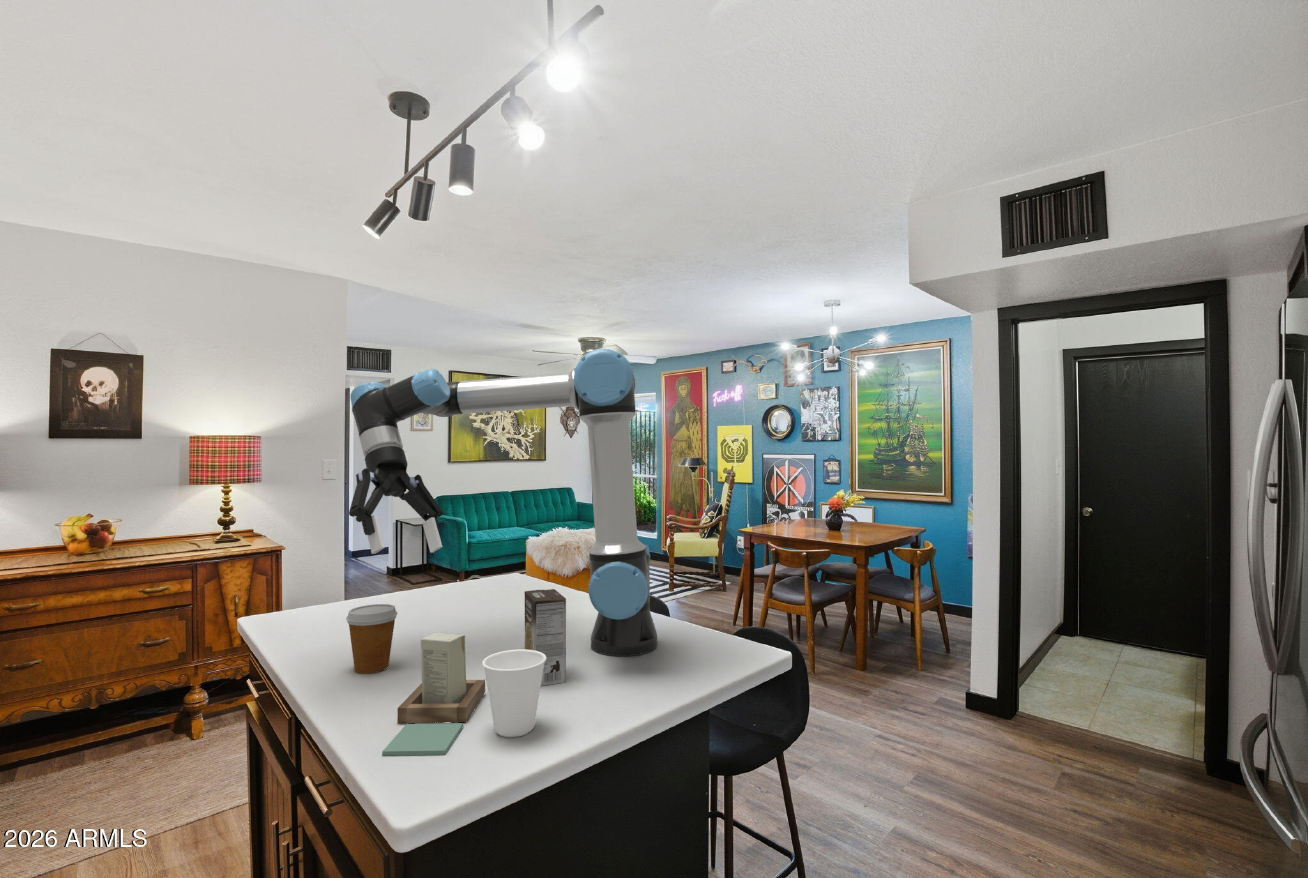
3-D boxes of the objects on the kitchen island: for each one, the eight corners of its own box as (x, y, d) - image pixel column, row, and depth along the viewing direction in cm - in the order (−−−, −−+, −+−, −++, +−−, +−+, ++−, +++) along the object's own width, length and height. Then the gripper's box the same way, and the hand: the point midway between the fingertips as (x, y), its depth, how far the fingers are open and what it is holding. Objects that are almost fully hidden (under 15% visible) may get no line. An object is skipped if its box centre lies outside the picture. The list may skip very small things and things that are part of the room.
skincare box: (467, 705, 105) (467, 634, 106) (451, 715, 101) (451, 641, 101) (436, 700, 107) (437, 630, 108) (419, 710, 103) (420, 637, 104)
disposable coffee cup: (377, 678, 118) (378, 616, 119) (334, 675, 120) (335, 613, 120) (406, 662, 128) (407, 604, 128) (366, 659, 129) (367, 602, 130)
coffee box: (523, 671, 121) (523, 590, 122) (555, 667, 124) (555, 587, 124) (533, 687, 113) (533, 600, 114) (566, 682, 116) (566, 597, 116)
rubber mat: (463, 726, 97) (463, 723, 97) (445, 754, 88) (445, 750, 88) (406, 727, 97) (406, 723, 97) (382, 755, 88) (382, 751, 88)
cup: (488, 717, 100) (488, 649, 101) (549, 714, 101) (549, 648, 102) (476, 745, 91) (476, 671, 91) (543, 742, 91) (543, 668, 92)
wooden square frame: (485, 693, 110) (485, 679, 110) (466, 722, 98) (466, 707, 98) (424, 694, 110) (424, 680, 110) (397, 723, 98) (397, 707, 98)
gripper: (420, 468, 135) (445, 557, 128) (314, 454, 114) (336, 560, 106) (443, 452, 133) (470, 541, 126) (339, 434, 111) (364, 541, 104)
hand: (408, 550), depth 116 cm, fingers open, 13 cm apart
